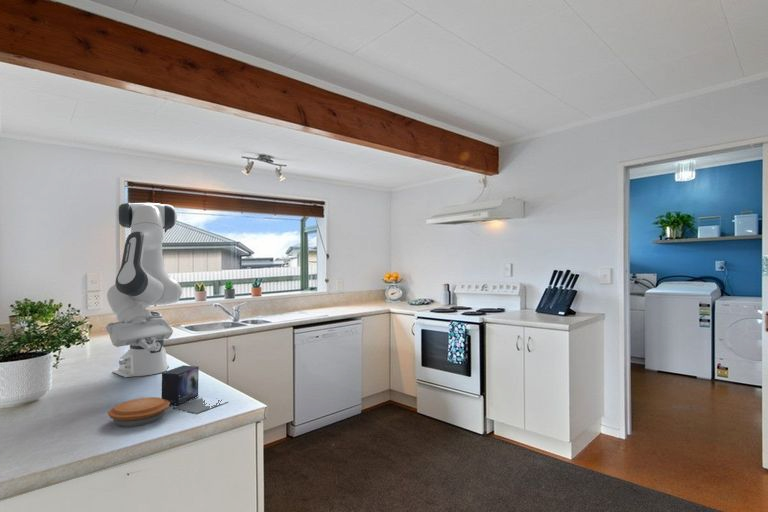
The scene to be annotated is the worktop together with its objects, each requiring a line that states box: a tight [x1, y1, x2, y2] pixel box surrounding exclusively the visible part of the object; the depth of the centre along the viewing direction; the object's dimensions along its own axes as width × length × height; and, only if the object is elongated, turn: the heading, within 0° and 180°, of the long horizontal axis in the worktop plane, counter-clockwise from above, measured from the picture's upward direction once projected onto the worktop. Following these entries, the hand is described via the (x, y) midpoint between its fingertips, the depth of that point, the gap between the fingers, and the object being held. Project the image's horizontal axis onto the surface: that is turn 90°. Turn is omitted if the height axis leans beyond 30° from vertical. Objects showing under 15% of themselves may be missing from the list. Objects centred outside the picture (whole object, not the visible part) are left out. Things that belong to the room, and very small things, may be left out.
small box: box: [160, 364, 200, 407], centre depth 134 cm, size 11×6×10 cm, turn 168°
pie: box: [107, 397, 170, 428], centre depth 118 cm, size 15×16×5 cm
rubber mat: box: [172, 397, 223, 415], centre depth 130 cm, size 11×12×1 cm
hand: (152, 349), depth 141 cm, fingers closed
